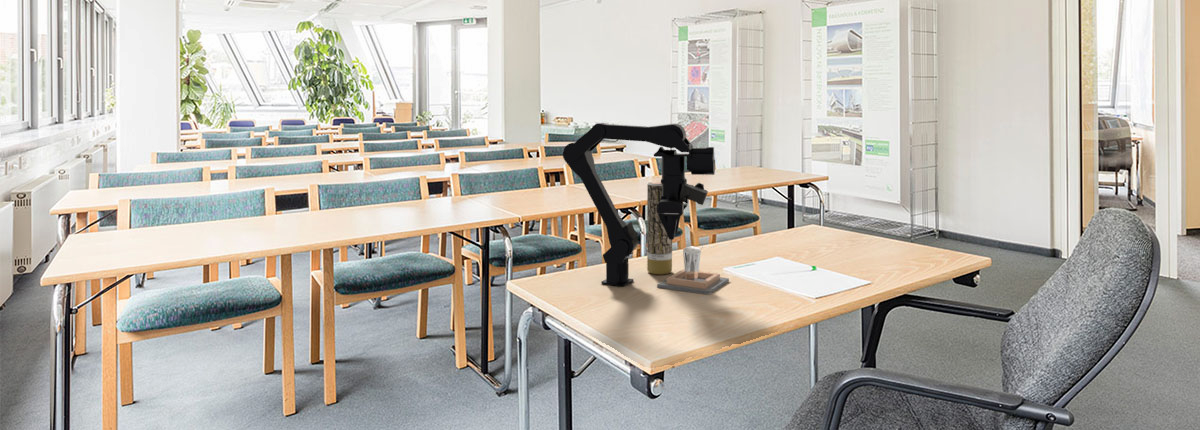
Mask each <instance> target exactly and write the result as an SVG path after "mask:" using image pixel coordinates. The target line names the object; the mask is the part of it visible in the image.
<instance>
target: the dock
mask: <svg viewBox="0 0 1200 430" xmlns="http://www.w3.org/2000/svg"><path fill="white" fill-rule="evenodd" d="M729 281H730V279H729V278H728V277H722V276H721V273H715V272H710V271H709V272H707V271H701V270H699V275H698V281H694V280H687V279H685V270H684V269H681V270H679V271H678V272H676V273H673V274H672V275H670V276H668V277H666V279H664V280H662V281H661V282H659V283H657V285H656V287H657V288H659V289H660V288H661V289H667V290H673V291H682V292H689V293H695V294H702V295H703V294H704V295H711V294H712V293H714V292H715V291H717V290H718V289H720V288H721V287H723V286H724V285H725V284H727V283H729Z"/></svg>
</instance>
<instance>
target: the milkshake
mask: <svg viewBox="0 0 1200 430" xmlns="http://www.w3.org/2000/svg"><path fill="white" fill-rule="evenodd" d="M704 245H705V243H703V244H702V246H701V248H699V247H697V246H693V245H691V246H685V247H684V248H683V250H682V254H683V268H684V270H685V279H687V280H694V281H698V275H699V271H700V262H701V254H702V249H703V248H704Z"/></svg>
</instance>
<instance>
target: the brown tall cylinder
mask: <svg viewBox="0 0 1200 430" xmlns="http://www.w3.org/2000/svg"><path fill="white" fill-rule="evenodd" d="M646 188H647V191H646V192H647V199H646V200H647V201H646V203H647V209H646V211H647V214H646V215H647V216H646V217H647V218H646V219H647V221H646V222H647V225H646V228H647V229H646V231H647V233H646V234H647V235H646V236H647V238H646V242H647V243H646V244H647V245H646V247H647V248H646V249H647V251H646V252H647V253H646V255H647V256H646V261H647V262H646V265H647V266H646V269H647V272H648V273H649V274H652V275H660V276H661V275H668V274H671V272H672V270H673V240H670V239H669V238H668V235H667V233H666V231H665V228H664V226H663V224H662V222H661V219H660V217H659V216H658V213H657V204H658V203H659V202H660V201H661V195H662V184H661V180H652V181H647V187H646Z"/></svg>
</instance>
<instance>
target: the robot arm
mask: <svg viewBox="0 0 1200 430" xmlns="http://www.w3.org/2000/svg"><path fill="white" fill-rule="evenodd" d="M604 140H617V141H619V140H620V141H633V142H646V143H650V144H653V145H656V146H659V148H658V150H657V151H656V152H655V153H653V157H655V158H659V157H661V179H660V181H661V184H662V195H661V201H660V202H659V203H658V204H657V213H658V216H659V217H660V219H661V222H662V224H663V226H664V228H665V231H666V233H667V235H668V238H669V239H670V240H672V241H673V240H674V239H675V235H676V233H678V231H679V226H680V222H681V221H680V220H681V217H682V216H683V215H684V210H685V209H686V208H687V207H688V204H689V202H690V201H693V202H694V203H696V204H698V205H700V206H703V205H704V203H705V200H706V198H707V195H708V192H709V191H708V190H707V189H705V186H704V183H701V182H698V183H696V184H695V185H694V184H689V183H687V182H688V180H687V179H688V178H686V173H685V171H686V170H687V171H688V172H690V174H691V175H692V176H693V175H698V176H699V175H700V176H704V175H705V176H707V175H710V176H711V175H712V176H713V175H715V173H716V159H715V147H714V146H707V147H694V146H693V144H692V143H691V142H690V141H689V139H688V138H687V133H686V130H685V128H684V127H683V126H682V125H681V124H679V123H667V124H659V125H652V126H651V125H650V126H646V125H645V126H644V125H628V124H614V123H613V124H611V123H605V122H599V123H598V122H597V123H595V124H594V125H593V126H592V127H591V128H590V129H589V130H588V131H587V132H586V133H584V134H583V135H582V136H581V137H579V138H578V139H577V140H576V141H574V142H573V141H572V142H571V143H570V142H569V143H568V144H566V145H565V147H563V151H562V158H563V160H564V161H565V163H566V164H567V166H568V167H569V168H570V170H571V171H572V172H574V174H576V175H577V176H578V177H579V179H580V180H581V181H582V184H583V185H584V187H585V189H586V192H587V193H588V195H589V197H590V199H591V200H592V202H593V204H594V206H595V208H596V209H597V212H598V214H599V216H600V217H601V219H602V221H603V224H604V225H605V227H606V233H607V238H608V242H609V245H610V247H609V248H608V249H607V250H606V251H605V252H604V253H603V254H602V258H603V260H604V263H605V269H606V272H605V273H606V274H605V277H606V278H605V279H604V280H601V281H600V283H601V284H603V285H609V286H615V287H624V286H627V285H628V284H631V283H632V282H634V278H629V276H630V275H629V274H630V273H629V270H630V269H629V268H630V267H629V258H630V255H631V254H632V253H633V252H634V250H636V248H637V246H638V243H639V240H638V235H639V233H638V232H637V231H636V230H635V228H634V225H633V222H632V221H630V220H629V221H628V223H626V221H624V219H622V218H621V216H620V214H619V212H618V210H617V208H616V207H615V204H614V203H613V200H612V199H611V197H610V196H609V194H608V192H607V189H606V187H605V186H604V184H603V182H602V180H601V179H600V178H601V177H600V176H599V174H598V172H597V169H596V166H595V165H596V164H595V160H594V155H593V153H592V152H593V151H594V150H595V148H596V147H598V146H599V145H600V143H601V142H602V141H604ZM664 147H665V148H668V149H665V148H664ZM669 148H670V149H669ZM677 150H678V152H680V153H678V152H677ZM685 168H686V169H685Z"/></svg>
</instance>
